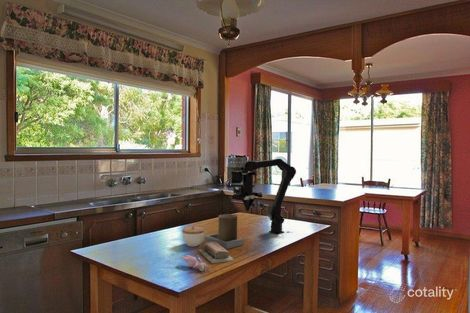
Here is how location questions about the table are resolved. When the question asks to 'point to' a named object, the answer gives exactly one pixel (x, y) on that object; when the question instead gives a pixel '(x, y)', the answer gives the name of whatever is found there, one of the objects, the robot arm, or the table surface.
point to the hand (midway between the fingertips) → (247, 211)
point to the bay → (223, 243)
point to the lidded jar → (193, 235)
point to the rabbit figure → (195, 262)
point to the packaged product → (215, 252)
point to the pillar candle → (227, 227)
